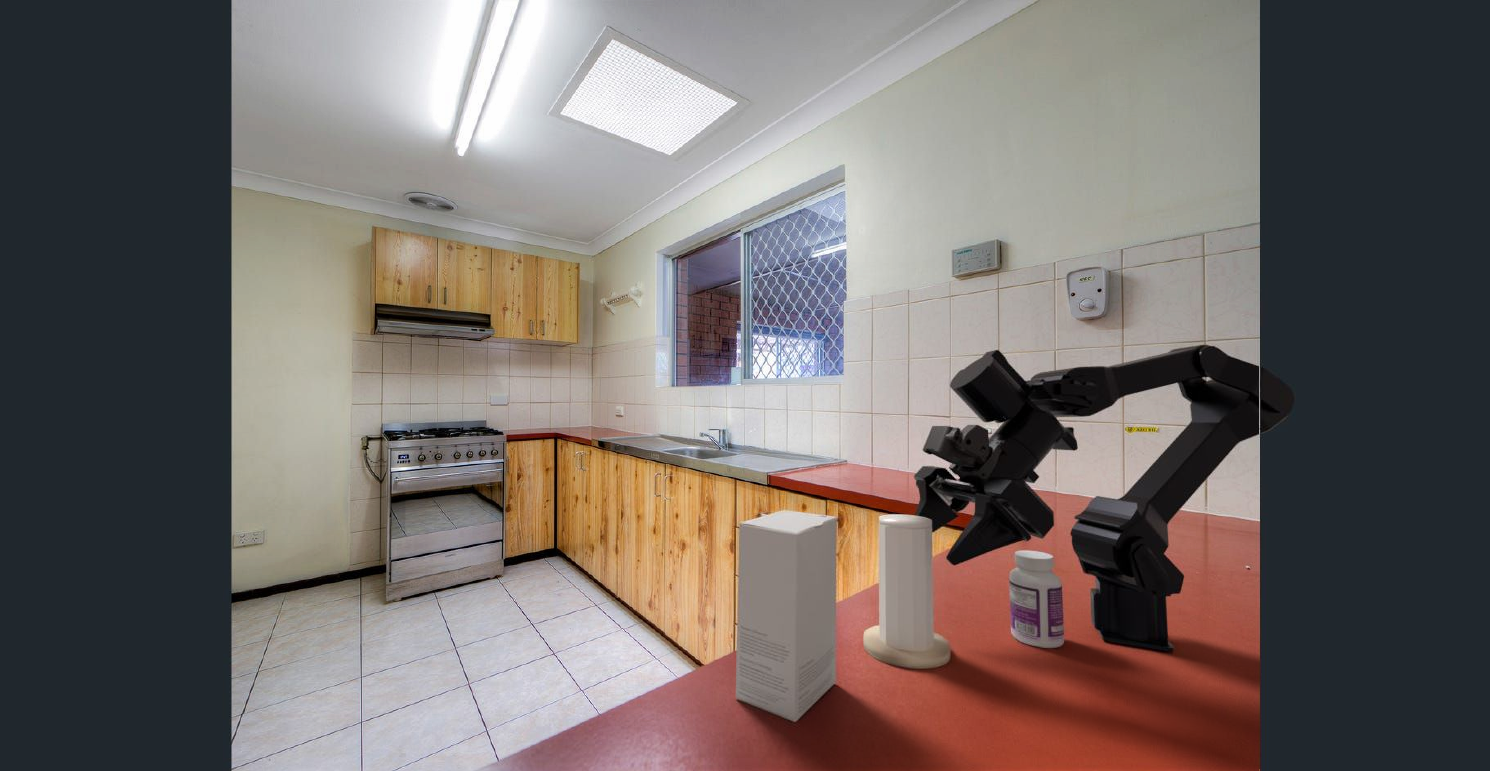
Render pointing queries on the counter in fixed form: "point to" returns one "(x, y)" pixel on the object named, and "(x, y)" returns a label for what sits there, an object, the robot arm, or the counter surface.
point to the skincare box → (786, 611)
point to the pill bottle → (1036, 600)
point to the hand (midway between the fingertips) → (927, 551)
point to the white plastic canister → (906, 582)
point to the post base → (907, 652)
